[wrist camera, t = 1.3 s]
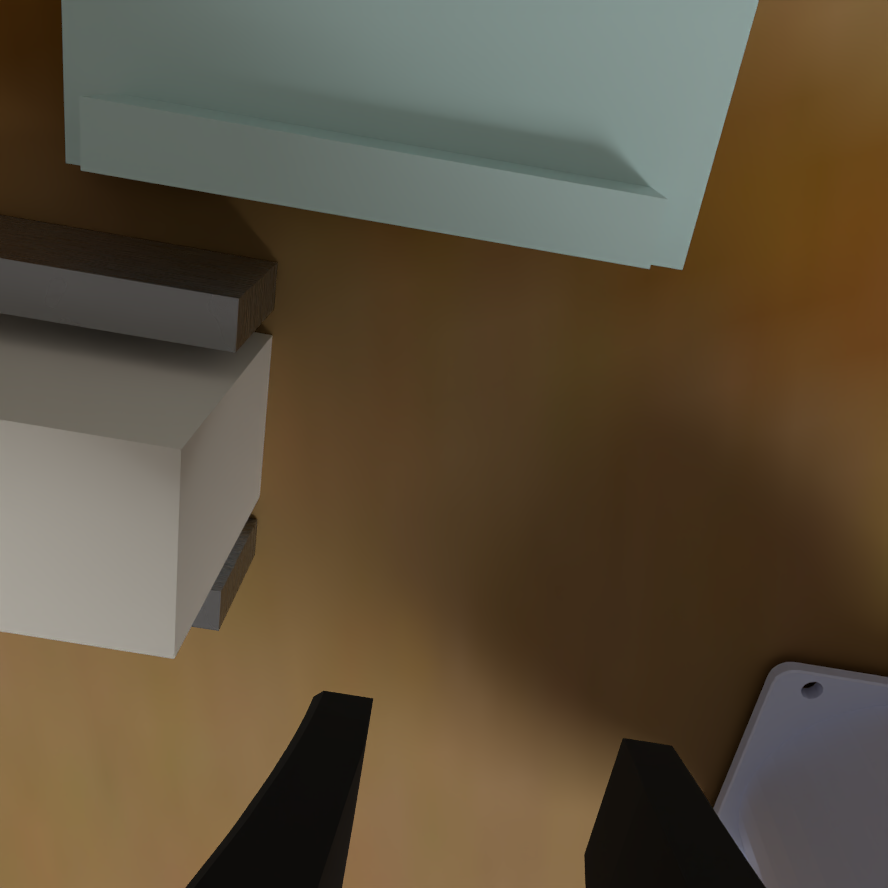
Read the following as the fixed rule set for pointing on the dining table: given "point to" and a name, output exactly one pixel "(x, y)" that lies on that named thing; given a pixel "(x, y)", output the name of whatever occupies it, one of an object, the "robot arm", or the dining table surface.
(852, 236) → the dining table surface
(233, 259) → the channel
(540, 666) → the dining table surface
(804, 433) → the dining table surface
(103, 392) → the white block
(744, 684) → the dining table surface
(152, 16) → the cradle
